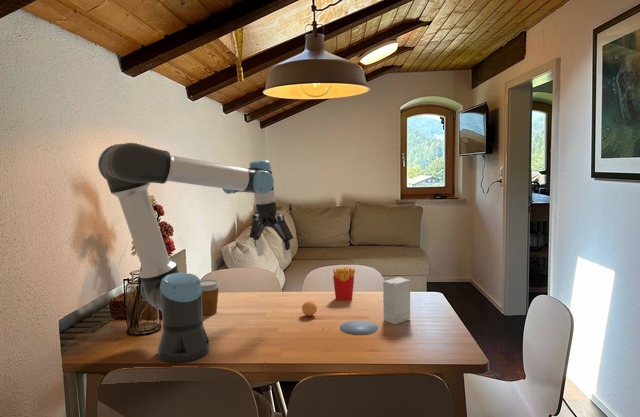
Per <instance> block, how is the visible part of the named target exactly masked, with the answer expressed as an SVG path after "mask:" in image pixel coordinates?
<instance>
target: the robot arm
mask: <svg viewBox="0 0 640 417" xmlns="http://www.w3.org/2000/svg"><path fill="white" fill-rule="evenodd" d="M271 166H272V165H271V162H270V161H269V160H267V159H263V160H255V161H251V162H250V163H249V168H245V167H239V166H234V165H228V164H224V163H223V164H222V163H216V162H212V161H211V162H210V161H205V160H200V159H196V158H195V159H194V158H189V157H188V158H187V157H184V156H178V155H172V154H171V152H170V151H168V150H163V149H158V148H154V147H150V146H147V145H144V144H140V143H135V142H126V143H118V144H116V143H115V144H113V145H110V146H108V147H106V148H105V149H104V150H103V151H102V152H101V154H100V156H99V157H98V163H97V167H98V171H99V173H100V175H101V176H102V177H103V179H104V180H106V183H107V185H108V188H109V191H110V194H112V195H113V196H115V197H116V198H118V200H119V203H120V206H121V210H122V212H123V215H124V217H125V218H124V219H125V221H126V225H127V227H128V230H129V233H130V235H131V238H132V239H131V240H132V242H133V244H134V248H135V250H136V254H137V257H138V259H139V263H140V265H141V268H142V269H141V271H140V272H139V275H138V276H139V280H140V281H141V285H140V293H141V295H142V297H143V298H144V300H145V302H146V303H148V304H149V305H150V306H152V307H154V308H156V309H158V310H159V312H161V315H162V316H161V318H162V332H161V336H160V339H159V340H160V341H159V345H158V347H157V355H158V358H159V359H160V360H161V361H163V362H167V363H184V362H185V363H186V362H190V361H196V360H199V359H201V358H202V357H205V356H206V355H207V354H209V353H210V350H211V345H210V344H211V343H210V340H209V337H208V335H207V332H206V330H205V328H204V321H203V320H204V318H203V315H202V287H201V281H202V280H201V279H200V278H199V277H198V276H197V275H196V274H193V273H190V272H189V273H186V272H180V271H179V269H178V265H177V262H175V261H173V260H171V259H170V256H169V253H168V251H167V247H166V244H165V240H164V238H163V236H162V232H161V229H160V226H159V222H158V220H157V217H156V213H155V210H154V207H153V202H152V201H151V197H150V195H149V192H148V188H149V186H150V185H151V184H153V183H154V184H162V185H163V184H166V183H167V182H173V183H181V184H187V185H194V186H203V187H208V188H209V187H211V188H217V189H218V188H219V189H222V190H223V192H224V193H225V194H228V195H229V194H230V195H231V194H235V193H251V194H252V193H253V196H254V202H255V203H256V204H255V209H256V213H255V214H253V215H252V222H251V227H250V232H249V238H250V239H253V241H254V246H255V248H256V254H257V257H261V256H264V255H265V253H264V247H263V240H262V237H261V235H262V233H263V232H264V229H265V228H267V227H268V228H271V229H274V231H275V232H276V234H277V235H278V236H279V237H280V239H281V240H282V242H281V248H282V253H283V260H288V259H290V258H291V252H290V249H291V244H290V241H291V240H293V239H294V236H293V234H292V232H291V230H290V228H289V226H288V224H287V222H286V220H285V216H284V214H282V213H281V214H279V215H278V214H277V211H278V209H277V202H276V196H275V195H276V194H275V187H274V183H275V181H274V177H273V171H272V167H271Z"/></svg>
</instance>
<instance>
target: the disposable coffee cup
mask: <svg viewBox="0 0 640 417" xmlns="http://www.w3.org/2000/svg"><path fill="white" fill-rule="evenodd" d="M200 281H201V287H202V315H203V316H205V317H206V316H208V315H209V316H212V315H215V314H217V311H218V300H219V290H220V289H219V288H220V286H221V285H220V282H219V280H217V279H203V280H200Z"/></svg>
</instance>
